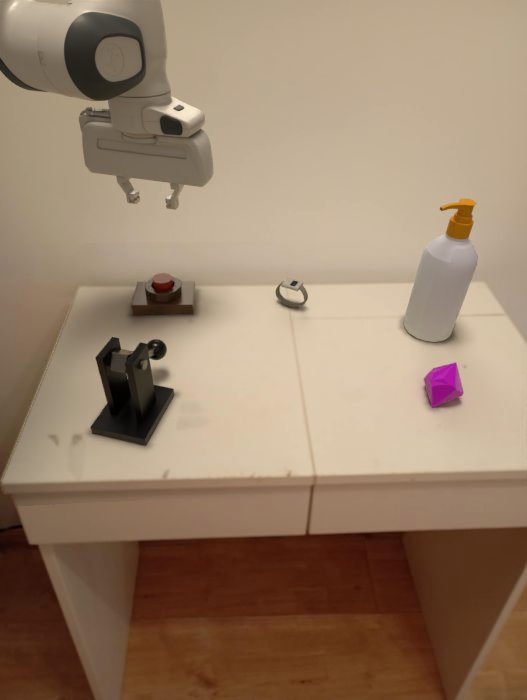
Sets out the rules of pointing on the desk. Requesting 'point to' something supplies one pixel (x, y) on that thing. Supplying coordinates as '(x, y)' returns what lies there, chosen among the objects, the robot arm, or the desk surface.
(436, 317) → the soap bottle
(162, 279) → the button
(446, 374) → the crystal
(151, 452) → the desk surface
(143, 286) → the panel
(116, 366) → the ball knob lever
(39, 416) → the desk surface
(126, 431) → the black lever stand
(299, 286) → the wristwatch
